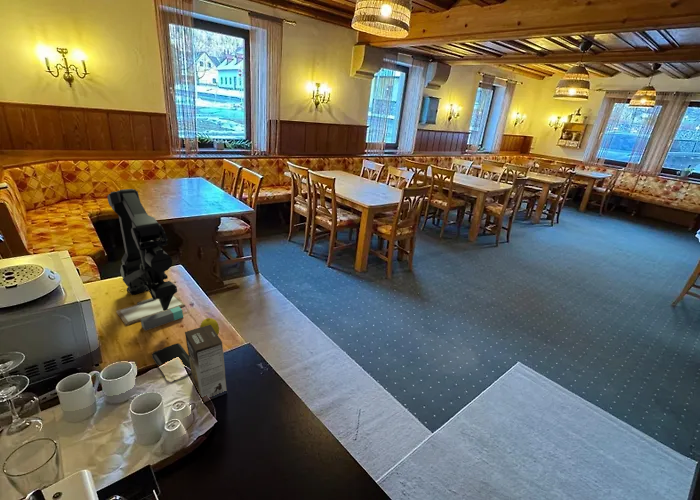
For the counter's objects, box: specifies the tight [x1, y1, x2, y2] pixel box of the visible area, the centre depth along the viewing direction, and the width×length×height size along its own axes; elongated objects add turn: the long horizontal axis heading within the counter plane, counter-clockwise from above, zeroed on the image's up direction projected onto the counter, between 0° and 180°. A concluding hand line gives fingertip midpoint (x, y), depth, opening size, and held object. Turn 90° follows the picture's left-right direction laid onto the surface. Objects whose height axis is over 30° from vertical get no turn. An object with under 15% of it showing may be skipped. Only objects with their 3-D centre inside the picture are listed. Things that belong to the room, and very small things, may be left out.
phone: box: [151, 343, 191, 368], centre depth 97 cm, size 8×1×15 cm
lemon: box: [199, 317, 220, 336], centre depth 106 cm, size 6×6×8 cm
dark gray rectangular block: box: [140, 306, 184, 332], centre depth 115 cm, size 3×12×3 cm, turn 136°
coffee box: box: [184, 325, 228, 397], centre depth 86 cm, size 9×6×16 cm
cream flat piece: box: [115, 293, 186, 326], centre depth 122 cm, size 11×19×1 cm, turn 136°
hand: (160, 304), depth 113 cm, fingers open, 9 cm apart
